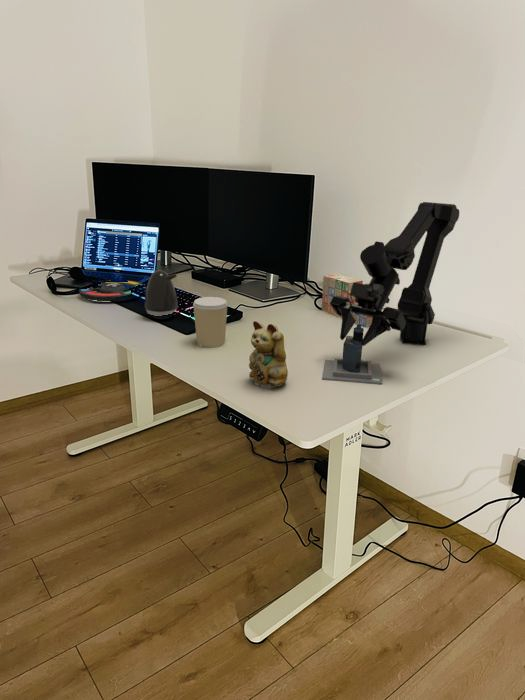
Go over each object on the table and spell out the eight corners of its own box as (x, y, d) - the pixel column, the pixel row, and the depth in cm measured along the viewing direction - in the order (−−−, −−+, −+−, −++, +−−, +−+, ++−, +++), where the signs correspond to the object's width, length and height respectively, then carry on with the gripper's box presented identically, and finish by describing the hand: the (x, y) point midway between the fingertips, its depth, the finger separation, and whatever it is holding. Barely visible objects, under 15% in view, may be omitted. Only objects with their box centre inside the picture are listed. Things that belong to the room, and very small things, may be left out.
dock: (380, 365, 138) (380, 359, 138) (382, 384, 127) (382, 378, 127) (324, 361, 140) (325, 355, 140) (321, 379, 129) (322, 373, 129)
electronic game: (131, 285, 211) (130, 273, 209) (156, 299, 193) (155, 286, 191) (71, 293, 198) (70, 280, 197) (92, 308, 181) (90, 294, 179)
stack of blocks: (380, 325, 170) (384, 286, 166) (365, 328, 167) (369, 289, 162) (335, 308, 186) (337, 272, 182) (320, 310, 183) (323, 274, 179)
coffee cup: (232, 339, 154) (232, 298, 150) (221, 350, 146) (220, 307, 142) (201, 335, 157) (200, 295, 152) (188, 346, 148) (187, 304, 144)
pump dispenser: (173, 323, 166) (171, 274, 161) (140, 321, 168) (137, 273, 163) (182, 314, 176) (181, 267, 171) (152, 312, 177) (149, 266, 172)
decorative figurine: (242, 382, 126) (242, 321, 121) (262, 371, 133) (263, 312, 128) (277, 393, 122) (279, 329, 116) (296, 381, 128) (298, 320, 123)
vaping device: (354, 374, 131) (359, 327, 127) (339, 367, 135) (343, 321, 131) (362, 372, 133) (366, 325, 128) (347, 365, 137) (350, 319, 132)
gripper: (336, 263, 133) (307, 316, 129) (405, 275, 122) (375, 334, 118) (351, 288, 142) (324, 339, 138) (417, 302, 130) (390, 358, 126)
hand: (351, 341), depth 130 cm, fingers open, 6 cm apart
